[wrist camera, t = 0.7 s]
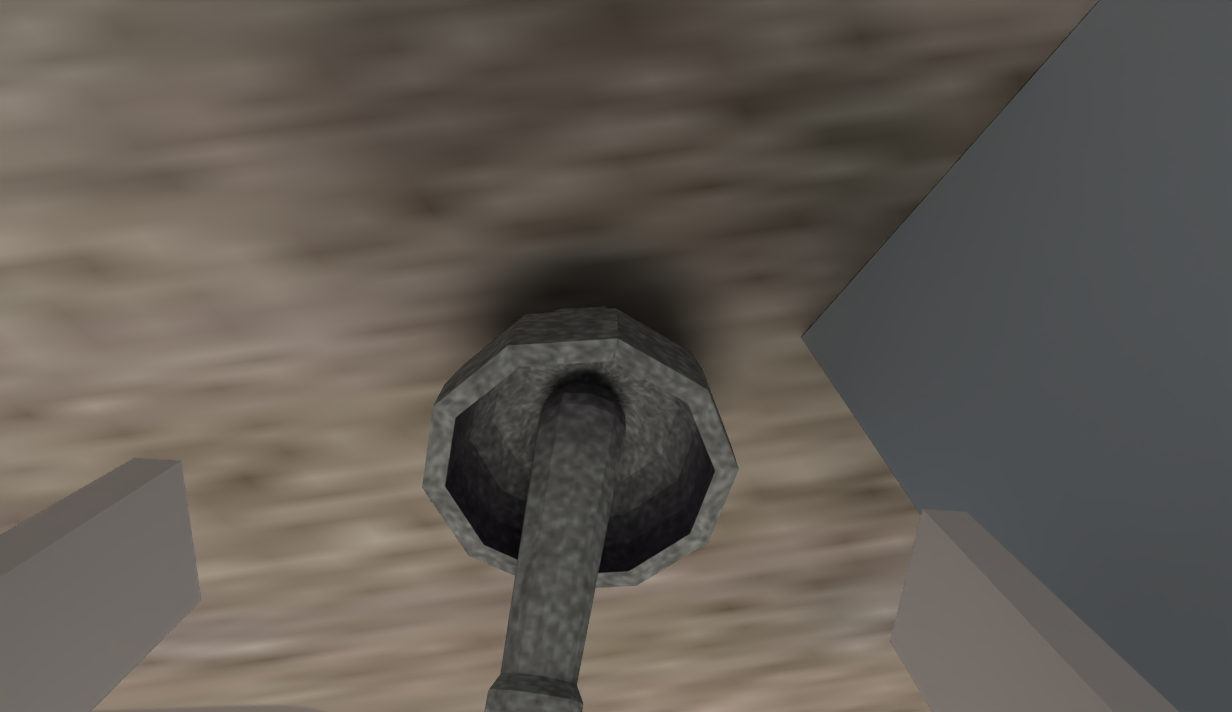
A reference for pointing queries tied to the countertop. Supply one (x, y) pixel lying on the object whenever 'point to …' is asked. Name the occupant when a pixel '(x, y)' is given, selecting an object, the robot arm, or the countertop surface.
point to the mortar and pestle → (574, 478)
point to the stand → (1077, 338)
